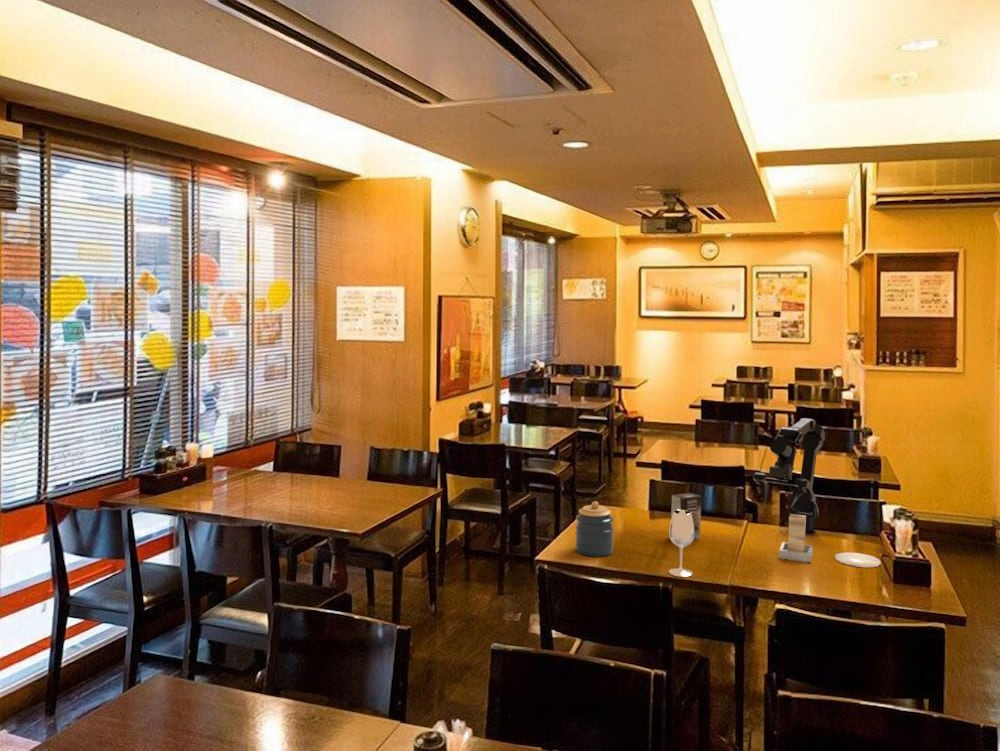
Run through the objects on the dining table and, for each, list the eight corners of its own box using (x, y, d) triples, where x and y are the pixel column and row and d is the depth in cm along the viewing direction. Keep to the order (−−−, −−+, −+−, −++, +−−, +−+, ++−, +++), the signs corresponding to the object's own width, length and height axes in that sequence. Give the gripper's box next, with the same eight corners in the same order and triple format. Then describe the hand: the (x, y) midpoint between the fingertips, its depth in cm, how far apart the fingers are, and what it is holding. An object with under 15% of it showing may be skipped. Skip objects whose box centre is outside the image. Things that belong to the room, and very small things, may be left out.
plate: (867, 553, 275) (867, 552, 275) (888, 567, 261) (888, 565, 261) (827, 554, 275) (827, 552, 275) (847, 567, 261) (847, 566, 261)
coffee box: (681, 542, 287) (682, 498, 286) (669, 537, 293) (670, 494, 292) (700, 539, 292) (702, 495, 290) (689, 534, 297) (690, 491, 296)
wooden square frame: (782, 550, 279) (782, 542, 278) (812, 554, 274) (812, 545, 274) (778, 558, 270) (779, 550, 269) (810, 563, 265) (810, 554, 265)
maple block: (788, 553, 275) (790, 513, 274) (804, 555, 273) (806, 515, 272) (787, 557, 271) (789, 517, 269) (803, 559, 269) (804, 519, 267)
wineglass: (666, 575, 253) (667, 513, 251) (670, 567, 260) (672, 507, 258) (691, 578, 250) (692, 516, 248) (694, 570, 257) (696, 510, 255)
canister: (620, 551, 277) (621, 501, 275) (598, 559, 268) (599, 508, 266) (590, 543, 286) (591, 495, 284) (567, 551, 276) (568, 501, 275)
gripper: (752, 452, 281) (743, 495, 277) (806, 459, 269) (797, 504, 265) (762, 461, 289) (753, 502, 285) (814, 468, 278) (807, 511, 274)
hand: (777, 505), depth 277 cm, fingers open, 9 cm apart
